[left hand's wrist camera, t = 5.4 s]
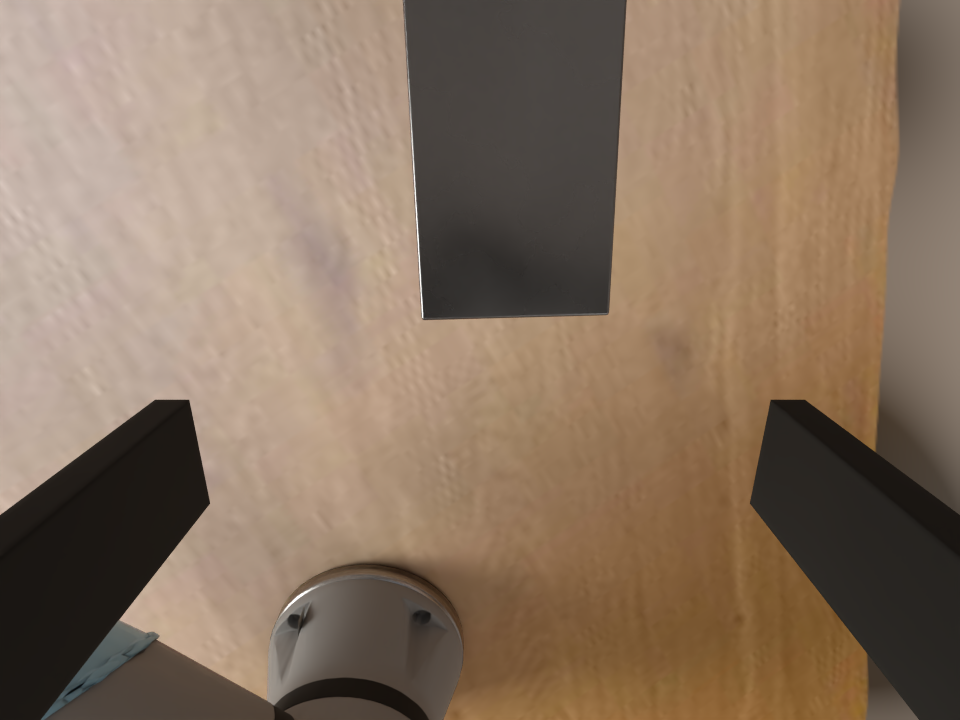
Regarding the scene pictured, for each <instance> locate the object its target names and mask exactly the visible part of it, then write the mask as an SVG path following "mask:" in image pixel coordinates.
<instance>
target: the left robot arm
mask: <svg viewBox="0 0 960 720" xmlns="http://www.w3.org/2000/svg"><path fill="white" fill-rule="evenodd" d="M209 504H210V501H209V496H208V491H207V486H206V481H205V476H204V471H203V466H202V461H201V456H200V451H199V446H198V441H197V436H196V431H195V426H194V421H193V416H192V411H191V406H190V402H189V400H154V401H153V402H152V403H150V404H149V405H148V406H146V407H145V408H144V409H142V410H141V411H140V412H138V413H137V414H136V415H134V416H133V417H132V418H130V419H129V420H127V421H126V422H125V423H123V424H122V425H121V426H119V427H118V428H117V429H115V430H114V431H113V432H111V433H110V434H109V435H107V436H106V437H105V438H103V439H102V440H101V441H99V442H98V443H97V444H95V445H94V446H93V447H91V448H90V449H88V450H87V451H86V452H84V453H83V454H82V455H80V456H79V457H78V458H76V459H75V460H74V461H72V462H71V463H70V464H68V465H67V466H66V467H64V468H63V469H62V470H60V471H59V472H58V473H56V474H55V475H54V476H52V477H51V478H50V479H48V480H47V481H45V482H44V483H43V484H41V485H40V486H39V487H37V488H36V489H35V490H33V491H32V492H31V493H29V494H28V495H27V496H25V497H24V498H23V499H21V500H20V501H19V502H17V503H16V504H15V505H13V506H12V507H11V508H9V509H8V510H7V511H5V512H4V513H2V514H1V515H0V720H443V719H444V716H445V714H446V711H447V709H448V706H449V704H450V701H451V698H452V696H453V693H454V691H455V688H456V686H457V683H458V680H459V677H460V673H461V669H462V664H463V631H462V626H461V623H460V620H459V617H458V615H457V613H456V611H455V609H454V608H453V606H452V605H451V603H450V602H449V601H448V600H447V598H446V597H445V596H444V595H443V594H442V593H441V592H440V591H439V590H437V589H436V588H435V587H434V586H433V585H431V584H430V583H428V582H427V581H425V580H423V579H421V578H420V577H418V576H416V575H413V574H411V573H409V572H406V571H403V570H400V569H396V568H392V567H387V566H381V565H350V566H344V567H339V568H335V569H332V570H329V571H326V572H323V573H321V574H319V575H317V576H315V577H313V578H311V579H310V580H308V581H307V582H305V583H304V584H302V585H301V586H300V587H299V588H298V589H296V590H295V591H294V592H293V594H292V595H291V596H290V597H289V598H288V600H287V601H286V602H285V604H284V606H283V608H282V609H281V612H280V614H279V617H278V619H277V621H276V624H275V626H274V628H273V631H272V635H271V639H270V645H269V654H268V689H267V701H266V700H264V699H263V698H261V697H259V696H257V695H255V694H253V693H252V692H250V691H248V690H246V689H244V688H243V687H241V686H239V685H237V684H235V683H234V682H232V681H230V680H228V679H226V678H225V677H223V676H221V675H219V674H217V673H216V672H214V671H212V670H210V669H208V668H206V667H205V666H203V665H201V664H199V663H197V662H196V661H194V660H192V659H190V658H188V657H187V656H185V655H183V654H181V653H179V652H178V651H176V650H174V649H172V648H170V647H169V646H167V645H165V644H163V643H161V642H159V641H158V640H156V639H158V637H159V635H158V634H156V633H155V632H149V633H145V632H143V631H141V630H139V629H137V628H134V627H132V626H130V625H128V624H126V623H124V622H122V621H120V620H119V619H120V618H121V617H122V615H123V614H124V613H125V611H126V610H127V609H128V608H129V606H130V605H131V604H132V603H133V601H134V600H135V599H136V597H137V596H138V595H139V594H140V592H141V591H142V590H143V588H144V587H145V586H146V585H147V583H148V582H149V581H150V580H151V578H152V577H153V576H154V574H155V573H156V572H157V571H158V569H159V568H160V567H161V565H162V564H163V563H164V562H165V560H166V559H167V558H168V557H169V555H170V554H171V553H172V551H173V550H174V549H175V548H176V546H177V545H178V544H179V542H180V541H181V540H182V539H183V537H184V536H185V535H186V533H187V532H188V531H189V530H190V528H191V527H192V526H193V525H194V523H195V522H196V521H197V519H198V518H199V517H200V516H201V514H202V513H203V512H204V510H205V509H206V508H207V507H208V505H209ZM750 504H751V505H752V507H753V508H754V509H755V510H756V512H757V513H758V514H759V516H760V517H761V518H762V519H763V521H764V522H765V523H766V525H767V526H768V527H769V528H770V530H771V531H772V532H773V533H774V535H775V536H776V537H777V539H778V540H779V541H780V542H781V544H782V545H783V546H784V548H785V549H786V550H787V551H788V553H789V554H790V555H791V557H792V558H793V559H794V560H795V562H796V563H797V564H798V565H799V567H800V568H801V569H802V571H803V572H804V573H805V574H806V576H807V577H808V578H809V580H810V581H811V582H812V583H813V585H814V586H815V587H816V588H817V590H818V591H819V592H820V594H821V595H822V596H823V597H824V599H825V600H826V601H827V603H828V604H829V605H830V606H831V608H832V609H833V610H834V611H835V613H836V614H837V615H838V617H839V618H840V619H841V620H842V622H843V623H844V624H845V626H846V627H847V628H848V629H849V631H850V632H851V633H852V635H853V636H854V637H855V638H856V640H857V641H858V642H859V643H860V645H861V646H862V647H863V649H864V650H865V651H866V652H867V654H868V655H869V656H870V658H871V659H872V660H873V661H874V663H875V664H876V665H877V666H878V668H879V669H880V670H881V672H882V673H883V674H884V675H885V677H886V678H887V679H888V681H889V682H890V683H891V684H892V686H893V687H894V688H895V689H896V691H897V692H898V693H899V695H900V696H901V697H902V698H903V700H904V701H905V702H906V704H907V705H908V706H909V707H910V709H911V710H912V711H913V712H914V714H915V715H916V716H917V718H918V719H919V720H960V515H959V514H958V513H956V512H955V511H953V510H952V509H951V508H949V507H948V506H947V505H945V504H944V503H943V502H941V501H940V500H939V499H937V498H936V497H935V496H933V495H932V494H931V493H929V492H928V491H927V490H925V489H924V488H923V487H921V486H920V485H919V484H917V483H916V482H914V481H913V480H912V479H910V478H909V477H908V476H906V475H905V474H904V473H902V472H901V471H900V470H898V469H897V468H896V467H894V466H893V465H892V464H890V463H889V462H888V461H886V460H885V459H884V458H882V457H881V456H880V455H878V454H877V453H876V452H874V451H873V450H872V449H870V448H869V447H867V446H866V445H865V444H863V443H862V442H861V441H859V440H858V439H857V438H855V437H854V436H853V435H851V434H850V433H849V432H847V431H846V430H845V429H843V428H842V427H841V426H839V425H838V424H837V423H835V422H834V421H833V420H831V419H830V418H828V417H827V416H826V415H824V414H823V413H822V412H820V411H819V410H818V409H816V408H815V407H814V406H812V405H811V404H810V403H808V402H807V401H806V400H771V402H770V406H769V411H768V416H767V421H766V426H765V431H764V436H763V441H762V446H761V451H760V456H759V461H758V466H757V471H756V476H755V481H754V486H753V491H752V496H751V501H750Z"/></svg>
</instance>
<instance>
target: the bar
mask: <svg viewBox="0 0 960 720" xmlns="http://www.w3.org/2000/svg"><path fill="white" fill-rule="evenodd" d="M626 2H627V0H403V11H404V28H405V45H406V62H407V79H408V96H409V114H410V131H411V148H412V165H413V182H414V199H415V216H416V233H417V250H418V267H419V284H420V302H421V317H422V319H423V320H444V319H481V318H518V317H555V316H592V315H607V314H608V313H609V304H610V286H611V268H612V250H613V233H614V215H615V197H616V179H617V162H618V144H619V126H620V108H621V91H622V73H623V55H624V37H625V20H626Z"/></svg>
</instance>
